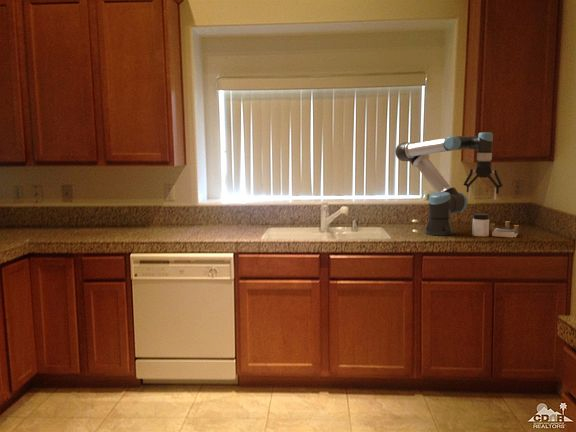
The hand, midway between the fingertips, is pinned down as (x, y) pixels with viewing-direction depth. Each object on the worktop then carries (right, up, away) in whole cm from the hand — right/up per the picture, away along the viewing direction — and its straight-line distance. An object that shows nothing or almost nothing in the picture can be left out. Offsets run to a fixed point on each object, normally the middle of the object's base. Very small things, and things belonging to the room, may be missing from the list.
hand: (482, 199), depth 281 cm
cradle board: (+15, -20, +4) cm, 25 cm away
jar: (0, -21, +3) cm, 21 cm away
